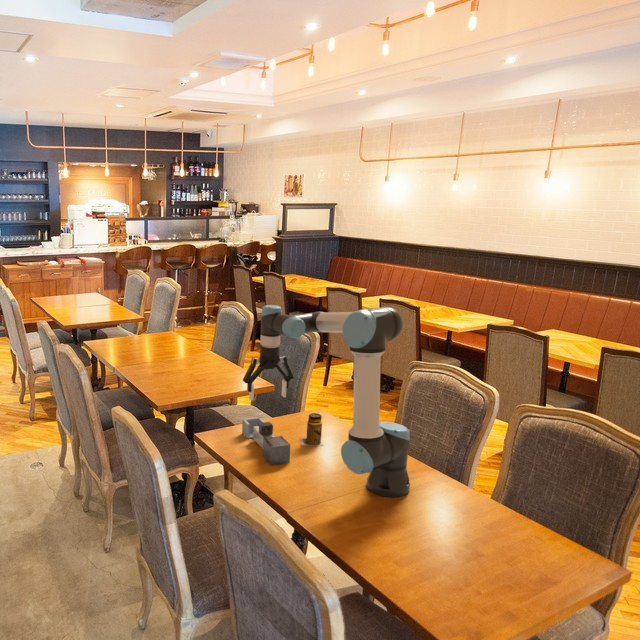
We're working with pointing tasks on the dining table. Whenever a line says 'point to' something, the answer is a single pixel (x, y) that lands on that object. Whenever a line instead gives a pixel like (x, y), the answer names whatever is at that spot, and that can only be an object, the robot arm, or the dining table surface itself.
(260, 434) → the light gray bar
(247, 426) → the socket
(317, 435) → the yellow drink bottle
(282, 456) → the sleeve
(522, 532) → the dining table surface
